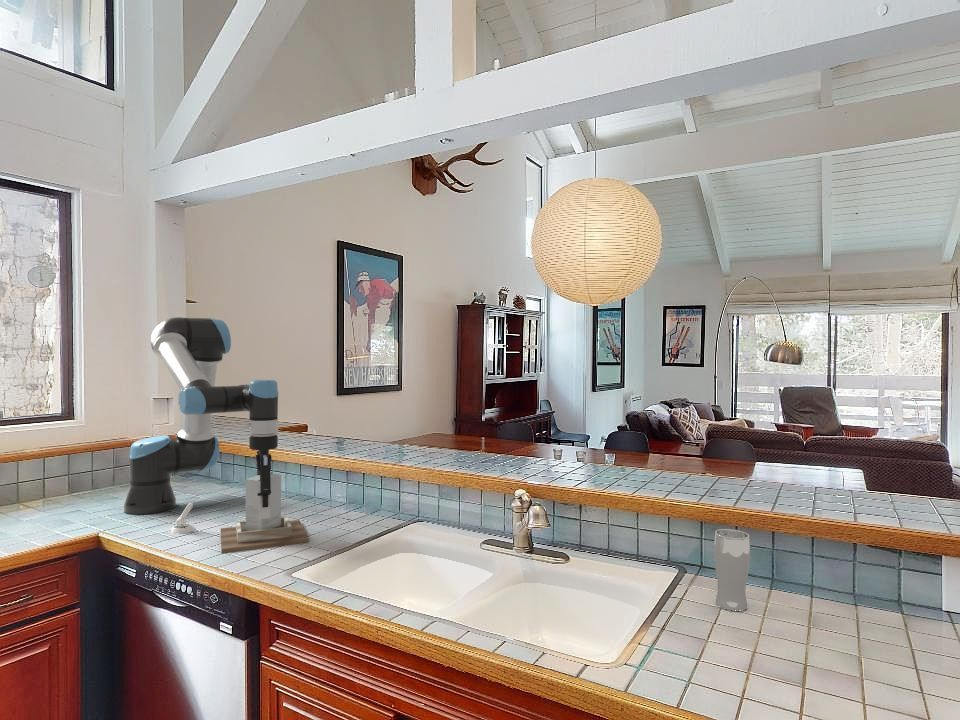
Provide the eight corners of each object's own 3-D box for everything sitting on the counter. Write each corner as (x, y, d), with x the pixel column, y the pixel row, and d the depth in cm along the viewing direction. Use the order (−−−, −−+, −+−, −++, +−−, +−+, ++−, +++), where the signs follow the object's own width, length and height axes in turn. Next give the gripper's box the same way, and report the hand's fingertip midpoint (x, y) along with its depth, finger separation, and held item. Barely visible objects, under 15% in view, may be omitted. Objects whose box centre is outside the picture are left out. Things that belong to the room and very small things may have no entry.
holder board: (220, 531, 172) (220, 519, 172) (299, 523, 181) (299, 511, 181) (221, 552, 153) (221, 539, 153) (308, 542, 163) (308, 529, 162)
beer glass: (707, 599, 126) (708, 528, 126) (738, 598, 126) (739, 528, 126) (723, 613, 119) (724, 539, 119) (756, 612, 119) (757, 538, 119)
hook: (201, 519, 170) (183, 508, 168) (183, 545, 171) (165, 535, 170) (209, 508, 176) (191, 498, 174) (191, 534, 177) (174, 524, 176)
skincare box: (265, 523, 172) (265, 472, 172) (282, 525, 170) (282, 474, 170) (244, 531, 164) (244, 477, 164) (261, 533, 162) (261, 479, 162)
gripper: (247, 430, 175) (247, 505, 176) (251, 440, 155) (251, 525, 155) (274, 429, 178) (273, 503, 179) (281, 439, 158) (281, 522, 159)
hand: (263, 513), depth 167 cm, fingers closed on skincare box, 9 cm apart
